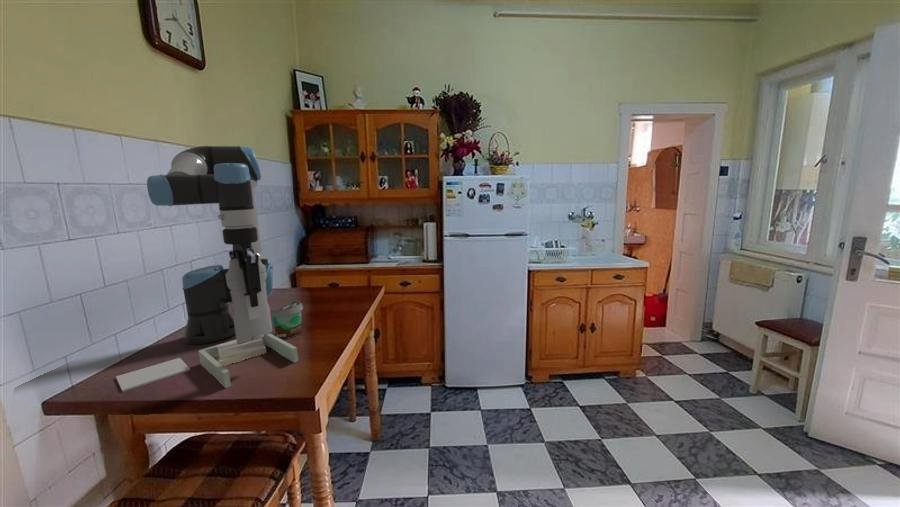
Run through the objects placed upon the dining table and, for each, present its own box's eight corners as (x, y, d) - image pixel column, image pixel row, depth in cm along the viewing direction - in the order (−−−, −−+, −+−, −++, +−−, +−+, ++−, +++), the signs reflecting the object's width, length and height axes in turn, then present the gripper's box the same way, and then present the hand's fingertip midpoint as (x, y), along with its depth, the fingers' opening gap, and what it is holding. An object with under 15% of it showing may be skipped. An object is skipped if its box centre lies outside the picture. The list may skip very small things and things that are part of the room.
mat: (116, 378, 98) (115, 376, 98) (180, 359, 108) (179, 357, 108) (122, 392, 90) (122, 390, 90) (190, 370, 100) (189, 368, 100)
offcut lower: (215, 363, 106) (213, 354, 105) (260, 349, 114) (258, 341, 113) (220, 369, 101) (219, 361, 101) (266, 355, 109) (265, 347, 109)
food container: (291, 341, 117) (287, 311, 116) (274, 341, 119) (270, 311, 117) (312, 327, 129) (309, 300, 128) (297, 327, 130) (293, 299, 129)
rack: (200, 364, 104) (198, 350, 103) (267, 342, 117) (265, 330, 117) (225, 388, 90) (223, 372, 89) (298, 361, 103) (296, 347, 102)
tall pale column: (240, 346, 92) (227, 259, 88) (230, 343, 94) (218, 258, 90) (278, 331, 101) (268, 252, 97) (268, 329, 103) (258, 251, 99)
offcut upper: (217, 353, 106) (216, 345, 105) (260, 343, 112) (258, 335, 112) (219, 359, 102) (218, 350, 101) (263, 347, 108) (262, 339, 108)
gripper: (212, 227, 95) (225, 314, 99) (234, 230, 84) (248, 328, 88) (243, 224, 101) (254, 307, 105) (268, 226, 90) (280, 319, 94)
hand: (251, 316), depth 97 cm, fingers closed on tall pale column, 3 cm apart
